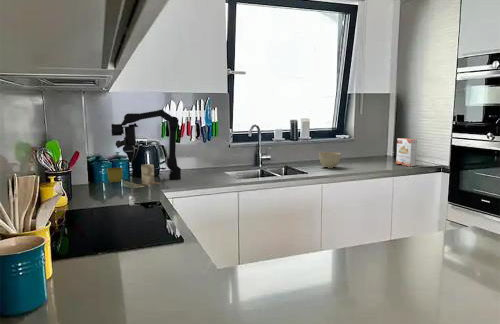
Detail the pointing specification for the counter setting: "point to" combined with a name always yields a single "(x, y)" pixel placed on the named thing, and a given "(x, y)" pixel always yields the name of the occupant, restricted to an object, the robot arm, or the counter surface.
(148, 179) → the beech block
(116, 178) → the flower pot
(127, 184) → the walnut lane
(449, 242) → the counter surface
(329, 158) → the planter bowl
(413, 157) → the cracker box
